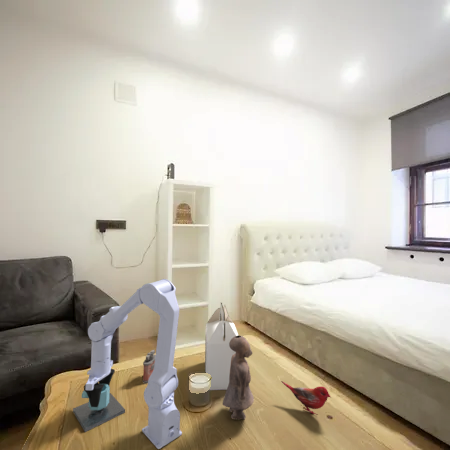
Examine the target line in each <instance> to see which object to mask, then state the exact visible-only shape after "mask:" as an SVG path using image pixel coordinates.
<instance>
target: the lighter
mask: <svg viewBox="0 0 450 450" xmlns="http://www.w3.org/2000/svg"><path fill="white" fill-rule="evenodd" d="M155 357H156V349H152V350H150V352H147V354H146V356H145V359H144V361H143V362H142V363H143V370H142V371H143V372H142V373H143V375H142V376H143V377H142V383H143V384H148V380H149V378H150V376H151V374H152V372H153V370H154V365H155Z"/></svg>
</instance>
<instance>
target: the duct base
mask: <svg viewBox="0 0 450 450" xmlns="http://www.w3.org/2000/svg"><path fill="white" fill-rule="evenodd" d="M72 413H73V415H74V416H75V418H76V419H77V421H78V423H79V425H80V426H81V428H82V429H83V431H84V433H87V432H88V431H90V430H93V429H94V428H97V427H99V426H100V425H103V424H104V423H107V422H108V421H110V420H111V421H112V420H113V419H114V418H117V417H119V416H122V415H123V414H125V413H126V409H125V408H124V406H123V405H122V404H121V403H120V402H119V401H118V400H117V399H116V397H114V395H113V394H112V393H111V392H110V396H109V403H108V405H107V406H106V407H105V408H102V409H100V410H91V409H90V408H89V401H88V402H85V403H83V404H81V405H79V406H76V407H73V408H72Z"/></svg>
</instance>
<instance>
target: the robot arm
mask: <svg viewBox="0 0 450 450" xmlns="http://www.w3.org/2000/svg"><path fill="white" fill-rule="evenodd" d="M176 291H177V288H176V286H175V285H174V283H172V281H171V280H170V279H167V278H162V279H160V280H156V281H153V282H150V283H149V282H148V283H145V284H143V285H142V286H141V287H139V288H138V289H136V291H135V292H134V293H133V294H132V295H131V296H130V297H128V299H126V301H124V302H123V304H121V305H120V306H119V305H116V306H112V307H110V308H109V309H108V310H109V311H108V312H107V313H106V314H105V315H102V316H100V319H99V321H95V322H92V323H90V325H89V326H88V328H87V335H88V338H89V339H90V341H91V356H90V357H91V358H90V360H91V361H90V369H89V370H88V371H87V372H86V374H87V375H88V379H87V382H86V383H85V384H84V386H83V391H84V390H85V392H86V393H87V395H88V397H89V398H88V402H89V401H90V405H91V407H98V405H99V401H100V395H101V391H102V388H103V386H104V384H108V385H109V386H110V384H111V381H112V380H113V379H112V378H113V376H114V374H115V373H116V372H115V371H116V370H115V369H113V368H112V367H114V366H113V365H114V360H112V359H111V354H112V353H111V350H112V349H111V348H112V340H113V336H114V334H115V333H116V329H118V328H119V327H120V326H122V325H123V323H125V322H126V321H127V320H128V317H129V315H128V314H130V313H131V312H133V311H134V310H135V309H137V308H138V307H139V306H140V305H143V304H144V305H145V306H146V307H148V308H149V309H151V310H152V311H153V312H155V313H156V314H157V315H158V316H159V324H158V333H157V341H156V349H155V355H156V357H155V365H154V370H153V372H152V374H151V376H150V378H149V380H148V383H147V384H146V385H147V386H145V389H144V391H143V399H144V402H145V403H146V405H147V407H148V419H147V420H148V422H147V425H145V426H144V427H143V428H141V431H142V433H143V435H145V436H146V437H147V439H148V440H149V441H150V442H151V443H152V444H153V445H154V446H155V448H156V449H158V450H159V449H161V448H164V447H165V446H166V445H168V444H169V443H171V442H173V441H174V440H175V439H177V438H179V437H181V436H182V434H183V431H182V430H181V428H180V427H181V422H180V421H181V414H180V413H181V412H180V411H179V409H178V408H177V406H176V404H175V391H176V390H177V388H178V386H179V378H178V374H177V372H178V369H177V368H176V367H175V366H174V362H175V361H174V360H175V353H176V342H177V335H178V334H177V333H178V325H179V316H180V306H179V302H178V299H177V295H176Z"/></svg>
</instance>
